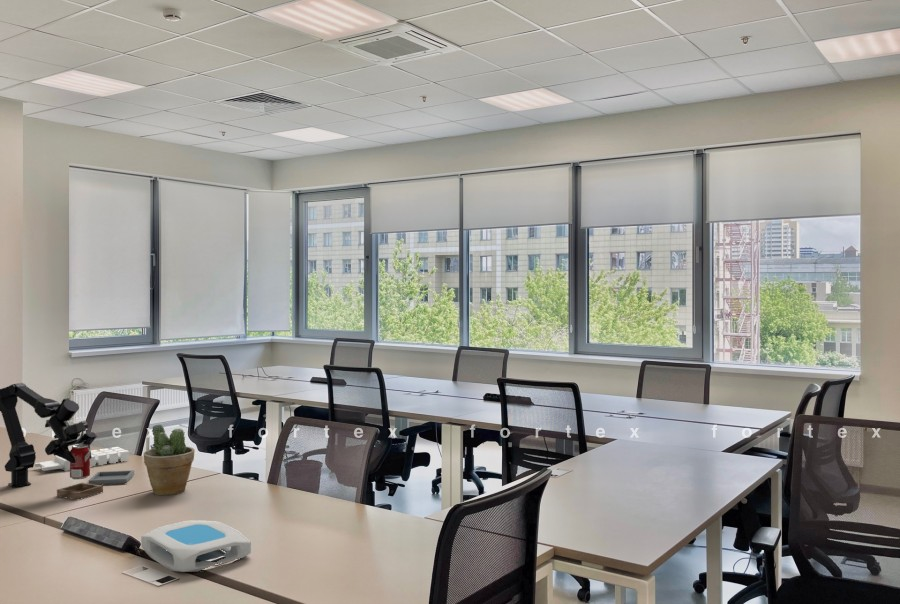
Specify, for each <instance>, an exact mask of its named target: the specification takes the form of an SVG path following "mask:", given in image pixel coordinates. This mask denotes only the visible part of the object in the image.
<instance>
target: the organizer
mask: <svg viewBox="0 0 900 604" xmlns="http://www.w3.org/2000/svg"><path fill="white" fill-rule="evenodd" d="M90 451H91V457H92V458H91V459H90V466H95V467H96V466H98V465H102V464H107V465H108V463H114V464H117V463H116V462H118V463H119V461H121V462H120V463H123V462H122V461H127V462H129V461H130V451H129V450H127V449H125V448H121V447H119V446H113V447H109V448H107V447H106V448H100V449H93V450H92V449H90ZM128 460H129V461H128ZM107 462H108V463H107ZM95 463H96V464H97V465H96V464H95ZM102 466H103V465H102ZM34 467H35V468H38V467H39V468H41V471H42V472H46V471H52V470H57V469H60V470H62V471H63V470H64V471H63V472H69V471H68V470H70V462H69V461H67V460H66V459H63V458H61V457H59V456H56V455H55V456H54V459H53V460H47V461H40V462H35V463H34Z"/></svg>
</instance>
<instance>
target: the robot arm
mask: <svg viewBox="0 0 900 604" xmlns="http://www.w3.org/2000/svg"><path fill="white" fill-rule="evenodd" d="M18 398H19V399H20V400H22V401H23V402H24V403H26V404H28V405H29V406H31V407H32V408H33V409H34V413H36V415H37V416H39V417H40V418H41V419H44V418H49V417H50V418H49V419H46V420H45V424H44V428H51V430H52V432H53V434H54V436H53V438H54V439H53V440H50V442H49V443H48V444H47V445H46V446H45V449H44V452H45V453H46V455H47V456H52V455H53V456H54V457H55V456H59V457H61V458H63V459H66V460H67V461H69V462H71V463H75V459H74V457H73V456H72V454H71V452H70V449H69V447H72V446H74V445H80V444H86V445H88V448H89V449H90V459H91V458H92V457H91V444H92V443H93V442H94V441H95V439H96V438H97V437H98V436H97V435H96V433H95V432H94V431H90V432H85V431H87V429H89V424H88V422H87V421H86V420H81V421H79V422H78V423H74V424H69V422H68V421H71V420H72V418H73V417H74V416H75V414H76V413H78V411H79V409H80V406H79V403H77V402H75V401H73V400H70V398H68V397H67V398H66V397H65V398H63V399H62V400H61V403H60V402H59V401H57V400H54V399H51V398H46V397H43V396H42V395H40V394H39V393H37V392H36V391H34V390H33V389H32V388H30V387H28V386H27V385H26V384H25V383H23V382H18V383H13V384H10V385H9V386H6V387H3V388H0V413H1V416H2V420H3V422H4V425H5V429H6V432H7V436H8V439H9V443H10V445H11V447H10V450H9V454H8V456H9V459H8V460H7V462H6V463H5V465H4V470H5V472H9V473H10V474H11V475H10V481H11V482H8V484H7V485H9V487H11V488H18V487H19V488H20V487H26V486H31V485H32V483H31V482H29V469H32V468H34V467H35V463H36V458H37V456H36V453H37V452H36V450H35V447H34V445H33V444H32V443H31V444H29V443H28V442H27V441H26V438H25V435H24V431H23V429H22V425H21V422H20V419H19V415H18V412H17V404H18V401H19V400H18ZM82 432H83V435H82V436H81V433H82ZM84 432H85V433H84ZM80 436H81V437H80ZM78 437H80V438H78Z"/></svg>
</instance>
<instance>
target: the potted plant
mask: <svg viewBox="0 0 900 604" xmlns="http://www.w3.org/2000/svg"><path fill="white" fill-rule="evenodd" d="M151 432H152V435H153V444H154V445H153V446H152V447H153V448H150V449H147V450H145V451H144V452H143V460H144V461H143V464H144V465H145V467H146V472H147V476H148V478H149V483H150V486H151V489H152V492H153V494H154V495H156V494H157V495H156V496H173V495H172V494H175V495H178V493H179V494H181V492H182V493H183V492H184V491H186V487H187V483H188V481H189V476H190V473H191V469H192V464H193V462H194V459H195V451H196V450H195V448H194V447H192V446H191V447H190V446H187V445H186V442H185V440H186V436H185V430H183V429H182V428H179V427H178V428H174V429H172V431H171V433H170V435H169V437H168V435H167V434H166V430H165V427H164V426H163V425H162V424H154V426H152V430H151Z"/></svg>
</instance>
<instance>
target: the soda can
mask: <svg viewBox="0 0 900 604" xmlns="http://www.w3.org/2000/svg"><path fill="white" fill-rule="evenodd" d="M69 451H70V452H71V454H72V456H73V457H74V459H75V463H71V462H70V471H69V478H70V479H72V480H84V479H87V478H88V477H89V476H91V467H90V451H91V448H90V449H89V448H88V445H86V444H80V445H79V444H76V445H71V449H69Z"/></svg>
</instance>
